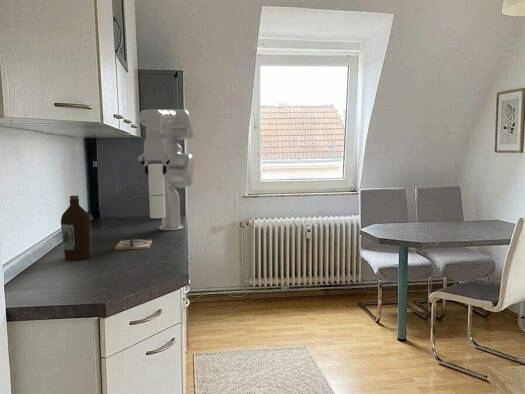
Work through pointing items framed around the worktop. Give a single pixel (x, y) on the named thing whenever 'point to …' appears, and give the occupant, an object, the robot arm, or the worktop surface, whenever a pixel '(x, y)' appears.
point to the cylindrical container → (156, 190)
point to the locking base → (134, 244)
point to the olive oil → (76, 231)
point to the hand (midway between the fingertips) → (156, 174)
